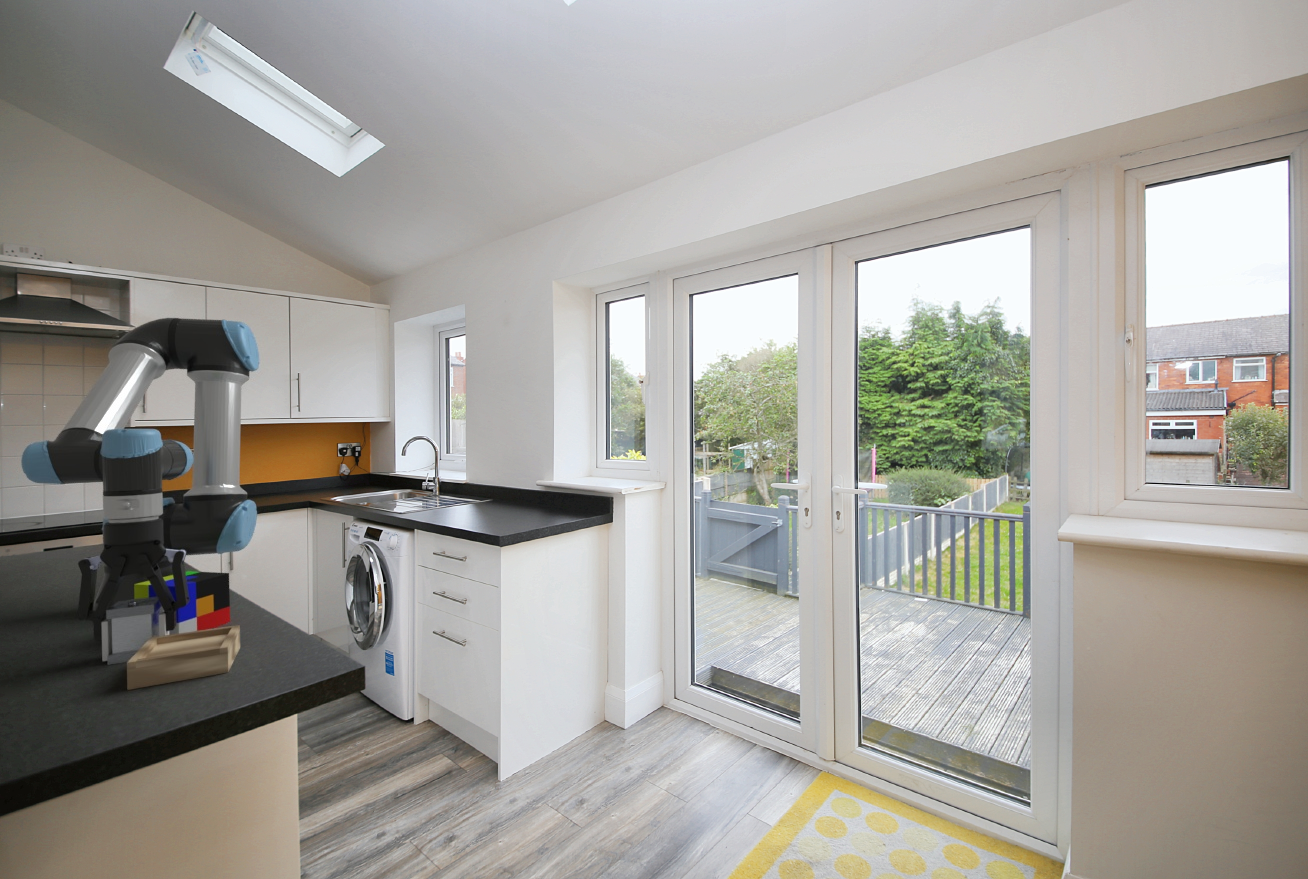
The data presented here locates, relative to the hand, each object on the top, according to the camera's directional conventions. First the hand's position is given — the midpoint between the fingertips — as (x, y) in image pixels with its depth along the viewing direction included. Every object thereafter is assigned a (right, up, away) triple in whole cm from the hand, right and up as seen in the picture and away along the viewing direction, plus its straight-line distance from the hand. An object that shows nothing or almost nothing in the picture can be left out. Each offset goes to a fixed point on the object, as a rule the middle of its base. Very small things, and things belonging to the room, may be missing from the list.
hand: (137, 653), depth 97 cm
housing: (0, 0, 0) cm, 0 cm away
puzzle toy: (-2, 0, +13) cm, 13 cm away
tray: (+13, 0, -5) cm, 14 cm away
